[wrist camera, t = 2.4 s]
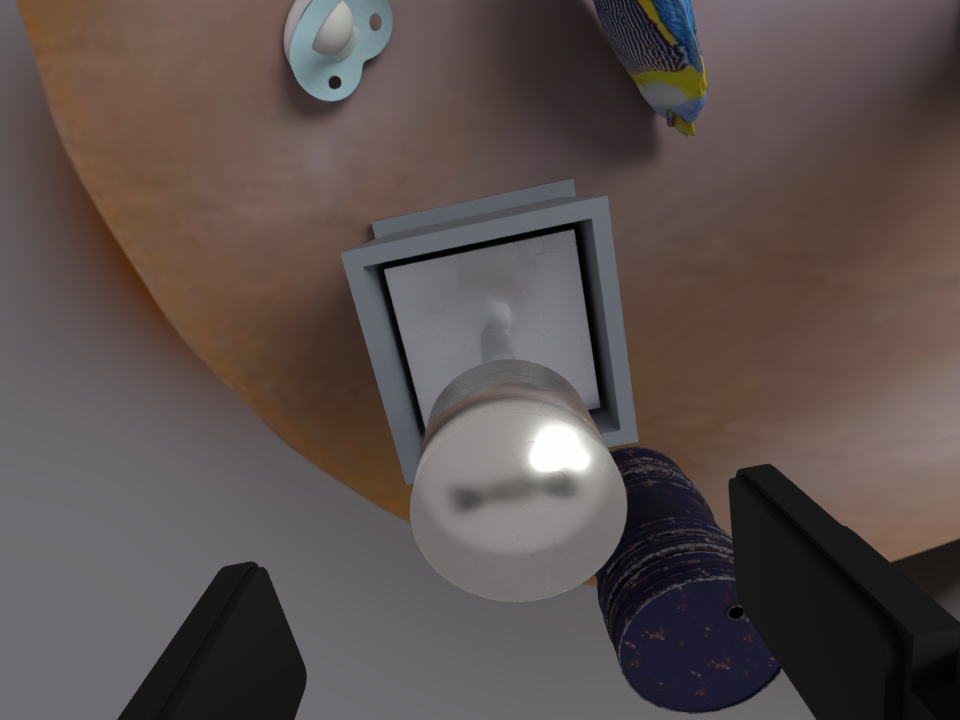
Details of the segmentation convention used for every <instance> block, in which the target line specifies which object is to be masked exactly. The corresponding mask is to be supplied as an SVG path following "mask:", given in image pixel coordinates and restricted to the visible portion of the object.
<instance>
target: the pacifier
mask: <svg viewBox="0 0 960 720" xmlns="http://www.w3.org/2000/svg"><path fill="white" fill-rule="evenodd" d="M374 15H378V16H380V17H381V19H382V26H381V28H380V29H379V30H378V31H374V30H372V29H371V27H370V20H371V18H372V17H373V16H374ZM392 27H393V17H392V11H391V7H390V4H389V1H388V0H295V2H294V4H293V6H292V8H291V10H290V12H289V15H288V18H287V21H286V25H285V31H284V49H285V54H286V57H287V60H288V62H289V64H290V65H291V67H292V70H293V72H294V75H295V77H296V79H297V81H298V83H299V84H300V85H301V86H302V88H303V89H304V90H306V91H307V92H308V93H309V94H311V95H312V96H314V97H316V98H318V99H320V100H324V101H329V102H332V101H340V100H343V99H345V98H347V97H348V96H350V95H351V94H352V93H353V92H354V91H355V89H356V88H357V86H358V84H359V82H360V79H361V75H362V67H363V64H364V63H365V62H366V61H367V60H369V59H372V58H374V57H375V56H377V55H378V54H380V53H381V52H382V51H383V49H384V48H385V47H386V45H387V44H388V42H389V39H390V37H391V33H392ZM334 76H337V77H339V78H340V79H341V82H342V83H341V86H340V87H339V88H338V89H331V88H330V87H329V80H330V78H332V77H334Z"/></svg>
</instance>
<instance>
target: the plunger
mask: <svg viewBox="0 0 960 720" xmlns="http://www.w3.org/2000/svg"><path fill="white" fill-rule="evenodd" d="M384 272H385V276H386V280H387V284H388V287H389V291H390V295H391V299H392V303H393V307H394V310H395V314H396V318H397V322H398V326H399V329H400V333H401V337H402V341H403V345H404V349H405V352H406V356H407V360H408V364H409V368H410V371H411V375H412V379H413V383H414V387H415V391H416V394H417V398H418V402H419V406H420V410H421V413H422V417H423V421H424V425H425V429H426V433H425V438H424V442H423V446H422V451H421V455H420V460H419V464H418V468H417V473H416V477H415V482H414V486H413V490H412V495H411V502H410V521H411V526H412V531H413V535H414V537H415V540H416V543H417V545H418V547H419V549H420V551H421V553H422V555H423V556H424V557H425V559H426V560H427V562H428V563H429V564H430V565H431V567H432V568H433V569H434V570H435V571H436V572H437V573H438V574H439V575H440V576H442V577H443V578H444V579H445V580H447V581H448V582H449V583H451V584H453V585H454V586H456V587H458V588H459V589H461V590H463V591H465V592H468V593H470V594H472V595H475V596H478V597H481V598H485V599H489V600H494V601H501V602H531V601H538V600H543V599H547V598H551V597H554V596H557V595H560V594H563V593H565V592H567V591H569V590H571V589H573V588H575V587H577V586H579V585H580V584H582V583H583V582H585V581H586V580H588V579H589V578H590V577H592V576H593V575H594V574H595V573H596V572H597V571H598V570H599V569H600V568H601V567H602V566H603V565H604V564H605V563H606V562H607V560H608V559H609V558H610V557H611V555H612V554H613V552H614V550H615V549H616V547H617V545H618V543H619V541H620V539H621V536H622V534H623V531H624V527H625V522H626V516H627V495H626V491H625V486H624V482H623V479H622V477H621V474H620V472H619V470H618V468H617V466H616V464H615V462H614V460H613V458H612V456H611V454H610V452H609V450H608V448H607V446H606V444H605V443H604V441H603V439H602V437H601V435H600V433H599V431H598V429H597V427H596V425H595V423H594V421H593V419H592V417H591V415H590V414H589V412H588V410H590V409H595V408H600V403H599V396H598V389H597V382H596V375H595V369H594V362H593V355H592V348H591V341H590V335H589V328H588V321H587V314H586V307H585V301H584V294H583V287H582V280H581V273H580V266H579V260H578V253H577V246H576V239H575V232H574V229H571V228H570V229H565V230H560V231H556V232H551V233H546V234H542V235H537V236H532V237H527V238H523V239H518V240H513V241H508V242H504V243H499V244H494V245H490V246H485V247H480V248H475V249H471V250H466V251H461V252H456V253H452V254H447V255H442V256H437V257H433V258H428V259H423V260H419V261H414V262H409V263H404V264H400V265H395V266H390V267H387V268H385V269H384Z"/></svg>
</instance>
